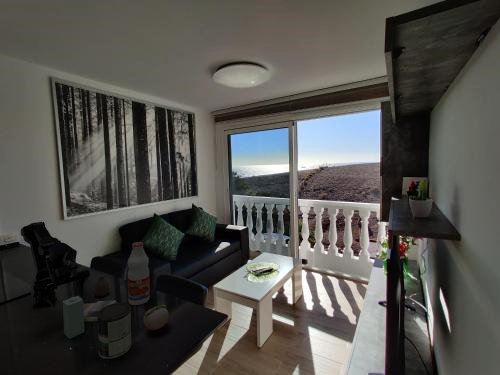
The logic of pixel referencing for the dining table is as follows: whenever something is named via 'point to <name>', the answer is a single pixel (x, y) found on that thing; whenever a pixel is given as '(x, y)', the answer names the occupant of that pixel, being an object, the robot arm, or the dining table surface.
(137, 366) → the dining table surface
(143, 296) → the fruit juice
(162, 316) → the decorative fruit
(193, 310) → the dining table surface
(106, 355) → the coffee can
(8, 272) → the dining table surface
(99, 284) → the vase
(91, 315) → the board
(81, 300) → the pillar
